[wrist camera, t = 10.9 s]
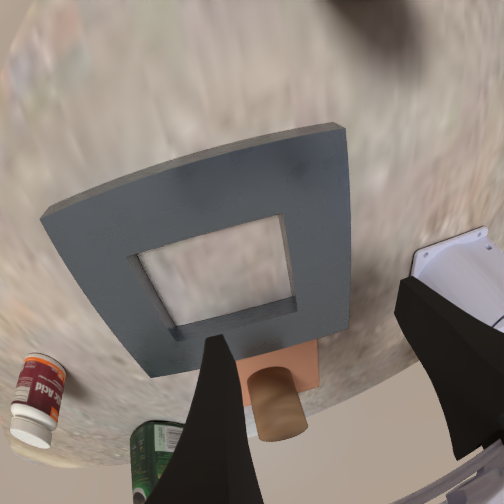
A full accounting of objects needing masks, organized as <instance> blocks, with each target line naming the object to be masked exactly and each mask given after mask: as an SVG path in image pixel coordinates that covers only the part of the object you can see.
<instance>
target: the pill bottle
mask: <svg viewBox="0 0 504 504" xmlns="http://www.w3.org/2000/svg"><path fill="white" fill-rule="evenodd" d="M65 379H66V372H65V370H64V369H63V367H62V366H61V365H60V364H59V363H58V362H57V361H55V360H54V359H52V358H50V357H48V356H45V355H42V354H37V353H32V354H28V355H27V356H26V357H25V360H24V363H23V366H22V369H21V372H20V376H19V379H18V382H17V386H16V389H15V393H14V396H13V400H12V404H11V411H12V414H13V415H14V417H13V418H12V421H11V426H10V432H11V433H12V434H13V435H14V436H15V437H16V438H18V439H20V440H21V441H23V442H25V443H28V444H30V445H33V446H36V447H39V448H44V449H47V448H50V446H51V440H52V433H51V431H54V430H55V429H56V427H57V422H58V416H59V410H60V405H61V399H62V394H63V389H64V384H65Z"/></svg>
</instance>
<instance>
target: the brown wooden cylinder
mask: <svg viewBox="0 0 504 504" xmlns="http://www.w3.org/2000/svg"><path fill="white" fill-rule="evenodd" d="M247 386H248V391H249V396H250V400H251V405H252V410H253V414H254V419H255V423H256V428H257V432H258V436H259V439H260V440H262V441H266V442H274V441H281V440H286V439H289V438H292V437H295V436H297V435H299V434H301V433H302V432H304V431H305V430H306V429H307V428H308V424H307V421H306V418H305V415H304V411H303V408H302V405H301V402H300V399H299V396H298V393H297V390H296V387H295V384H294V381H293V378H292V374H291V372H290V370H289V369H287V368H285V367H279V366H275V367H268V368H264V369H261V370H259V371H257V372H255V373H253V374H252V375H251V376H250V377H249V378H248V380H247Z"/></svg>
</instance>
